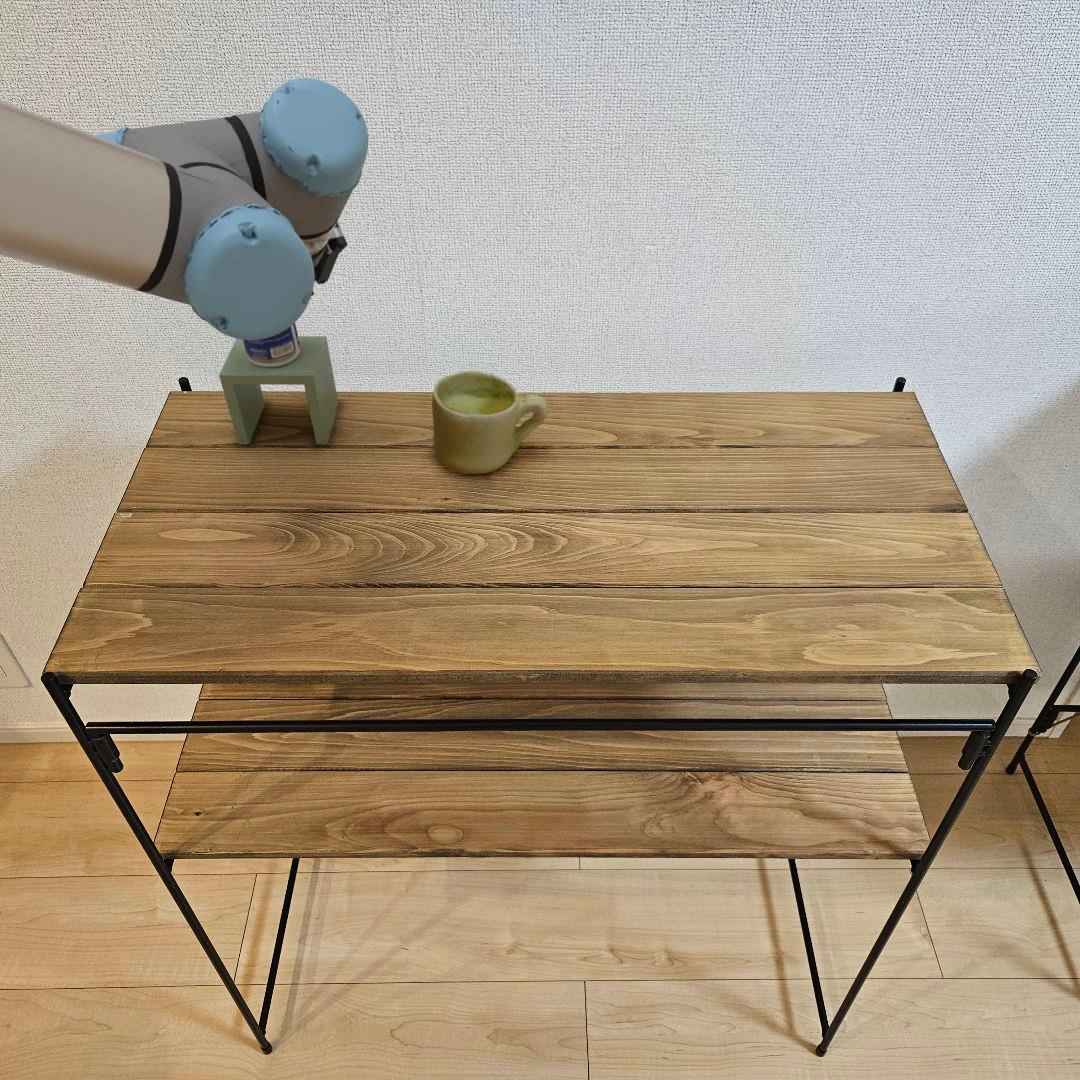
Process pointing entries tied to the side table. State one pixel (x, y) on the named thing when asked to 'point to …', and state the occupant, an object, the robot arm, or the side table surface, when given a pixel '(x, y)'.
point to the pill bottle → (274, 348)
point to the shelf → (304, 370)
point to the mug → (480, 421)
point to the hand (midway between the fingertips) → (254, 313)
